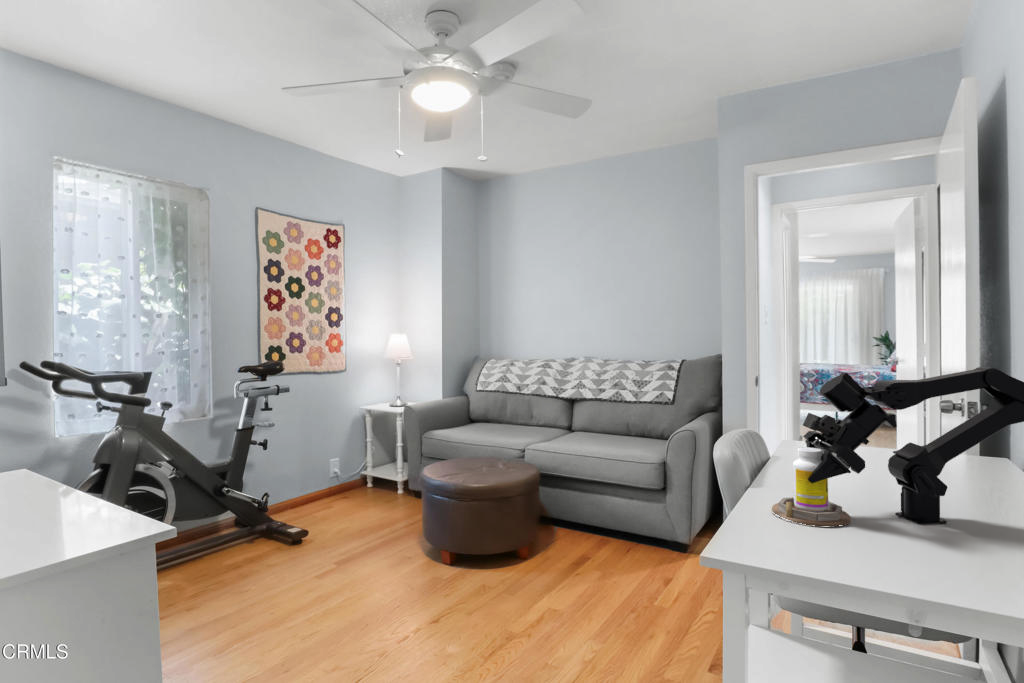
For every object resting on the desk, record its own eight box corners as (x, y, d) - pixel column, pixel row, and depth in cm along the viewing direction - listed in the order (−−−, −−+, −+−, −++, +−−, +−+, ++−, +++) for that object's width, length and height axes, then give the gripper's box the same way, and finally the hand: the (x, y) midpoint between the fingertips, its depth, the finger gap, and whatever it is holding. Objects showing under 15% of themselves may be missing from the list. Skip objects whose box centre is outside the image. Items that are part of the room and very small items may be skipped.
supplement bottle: (832, 513, 116) (831, 452, 116) (798, 512, 118) (797, 452, 118) (822, 504, 123) (821, 446, 123) (790, 502, 124) (789, 446, 124)
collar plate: (867, 525, 114) (867, 506, 114) (799, 529, 112) (799, 510, 112) (818, 503, 129) (818, 487, 129) (758, 506, 127) (758, 490, 127)
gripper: (811, 395, 129) (762, 443, 130) (846, 406, 110) (789, 460, 112) (849, 429, 127) (799, 476, 129) (891, 445, 109) (832, 500, 111)
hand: (803, 477), depth 120 cm, fingers closed on supplement bottle, 7 cm apart
